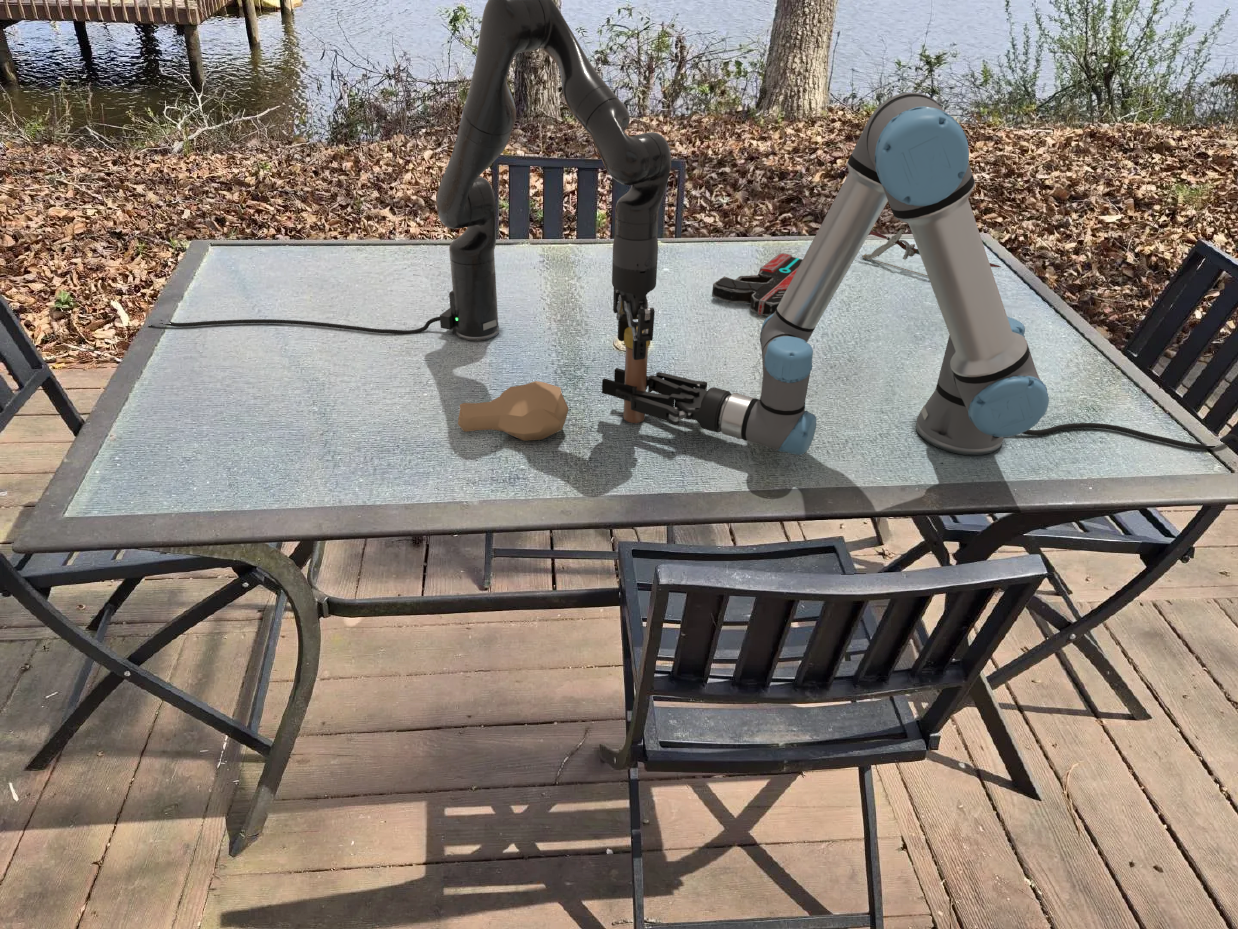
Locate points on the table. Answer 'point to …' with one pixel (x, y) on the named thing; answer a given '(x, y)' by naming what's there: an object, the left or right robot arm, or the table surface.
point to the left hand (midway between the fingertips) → (631, 349)
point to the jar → (634, 382)
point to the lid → (631, 338)
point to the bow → (905, 245)
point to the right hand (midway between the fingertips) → (609, 380)
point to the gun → (760, 285)
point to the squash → (519, 412)
